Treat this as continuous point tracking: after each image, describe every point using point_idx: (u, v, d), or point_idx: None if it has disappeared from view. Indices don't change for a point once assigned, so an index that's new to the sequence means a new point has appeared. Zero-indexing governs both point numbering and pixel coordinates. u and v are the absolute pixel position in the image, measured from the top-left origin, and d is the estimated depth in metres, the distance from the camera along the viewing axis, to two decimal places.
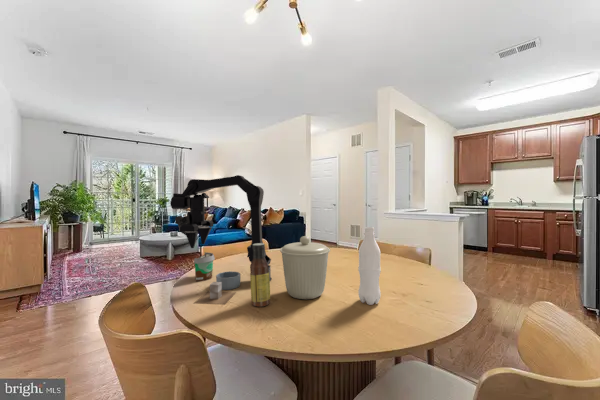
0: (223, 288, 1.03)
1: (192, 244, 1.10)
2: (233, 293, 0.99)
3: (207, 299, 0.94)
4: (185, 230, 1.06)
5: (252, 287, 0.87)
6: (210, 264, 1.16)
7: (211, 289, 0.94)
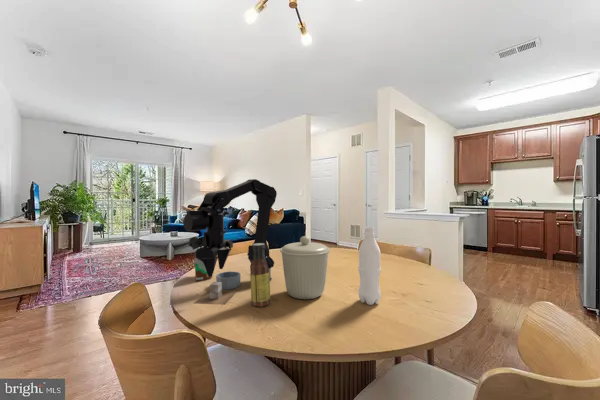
0: (223, 288, 1.03)
1: (210, 272, 0.90)
2: (233, 293, 0.99)
3: (207, 299, 0.94)
4: (202, 256, 0.86)
5: (252, 287, 0.87)
6: None
7: (211, 289, 0.94)
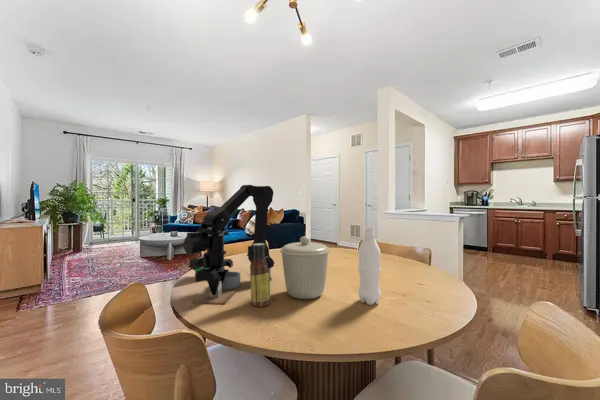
0: (223, 288, 1.03)
1: (214, 291, 0.93)
2: (233, 291, 0.99)
3: (207, 298, 0.94)
4: (202, 279, 0.86)
5: (252, 287, 0.87)
6: None
7: None
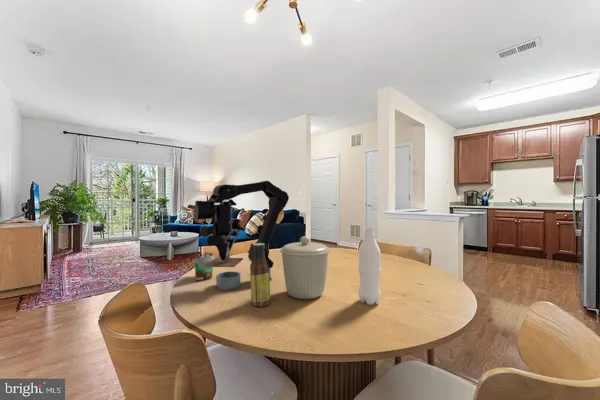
0: (223, 288, 1.03)
1: (223, 256, 1.01)
2: (240, 258, 1.07)
3: (216, 262, 1.01)
4: (213, 243, 0.93)
5: (252, 287, 0.87)
6: None
7: None
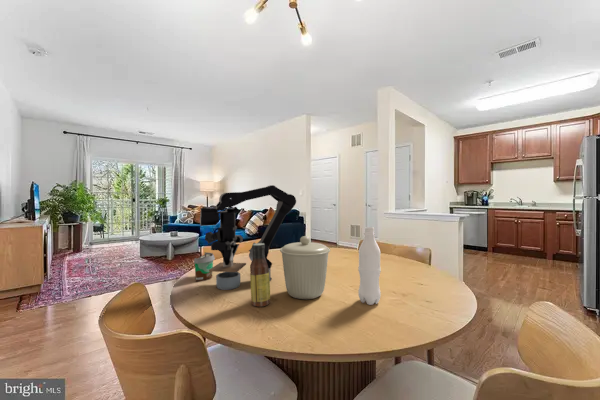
0: (223, 288, 1.03)
1: (227, 261, 1.05)
2: (243, 263, 1.11)
3: (221, 267, 1.05)
4: (218, 248, 0.98)
5: (252, 287, 0.87)
6: (210, 264, 1.16)
7: None
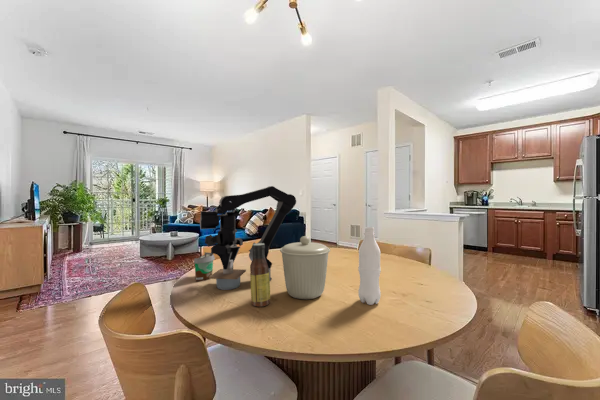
0: (223, 288, 1.03)
1: (225, 265, 1.03)
2: (243, 270, 1.11)
3: (221, 274, 1.05)
4: (218, 252, 0.98)
5: (252, 287, 0.87)
6: (210, 264, 1.16)
7: None
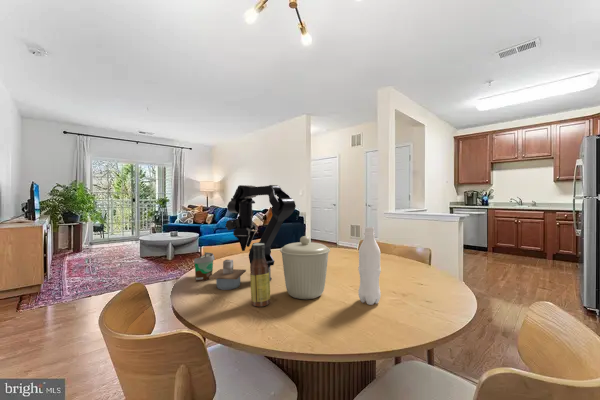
0: (223, 288, 1.03)
1: (243, 247, 1.15)
2: (243, 270, 1.11)
3: (221, 274, 1.05)
4: (240, 234, 1.11)
5: (252, 287, 0.87)
6: (210, 264, 1.16)
7: (224, 265, 1.06)
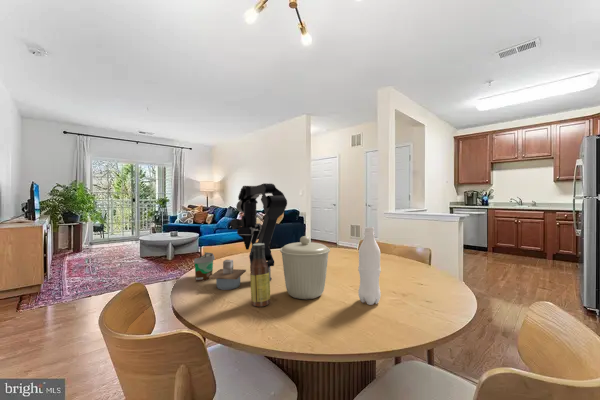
0: (223, 288, 1.03)
1: (247, 246, 1.18)
2: (243, 270, 1.11)
3: (221, 274, 1.05)
4: (243, 233, 1.14)
5: (252, 287, 0.87)
6: (210, 264, 1.16)
7: (224, 265, 1.06)
